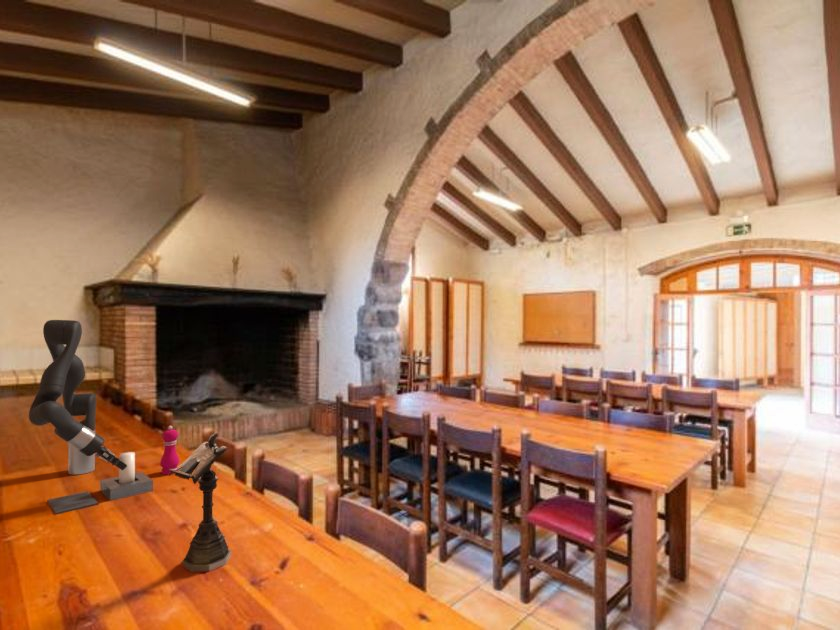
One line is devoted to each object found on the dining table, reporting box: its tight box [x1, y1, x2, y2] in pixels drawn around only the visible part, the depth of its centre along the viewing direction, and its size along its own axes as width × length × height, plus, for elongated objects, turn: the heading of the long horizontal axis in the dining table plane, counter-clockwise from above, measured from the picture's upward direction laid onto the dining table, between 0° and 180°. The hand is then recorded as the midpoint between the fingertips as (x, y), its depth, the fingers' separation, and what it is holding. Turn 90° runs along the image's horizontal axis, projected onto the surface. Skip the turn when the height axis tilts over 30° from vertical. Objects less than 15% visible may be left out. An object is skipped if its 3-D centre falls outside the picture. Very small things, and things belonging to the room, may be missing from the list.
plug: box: [118, 451, 136, 485], centre depth 182 cm, size 5×5×14 cm
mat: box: [47, 490, 99, 515], centre depth 170 cm, size 16×12×1 cm
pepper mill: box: [160, 425, 180, 476], centre depth 204 cm, size 7×7×20 cm
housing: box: [100, 471, 154, 501], centre depth 182 cm, size 14×14×4 cm
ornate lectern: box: [168, 432, 232, 573], centre depth 128 cm, size 17×13×35 cm
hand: (121, 465), depth 181 cm, fingers open, 8 cm apart
